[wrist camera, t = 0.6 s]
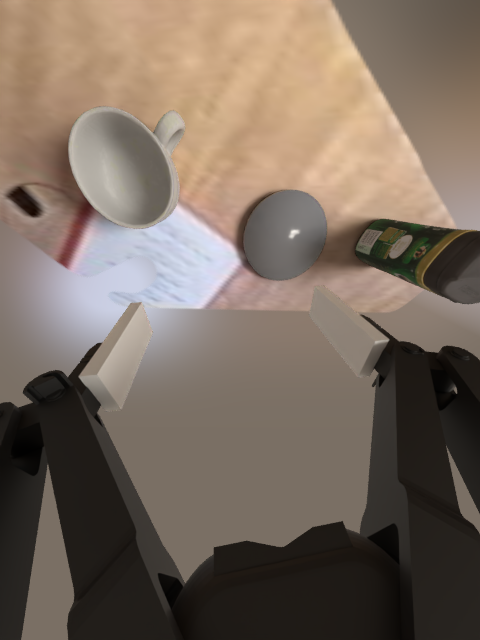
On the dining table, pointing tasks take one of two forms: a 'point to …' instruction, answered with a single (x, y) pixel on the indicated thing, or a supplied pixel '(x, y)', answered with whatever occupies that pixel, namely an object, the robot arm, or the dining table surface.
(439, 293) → the coffee jar
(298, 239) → the charcoal plate
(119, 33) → the dining table surface
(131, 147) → the teacup
